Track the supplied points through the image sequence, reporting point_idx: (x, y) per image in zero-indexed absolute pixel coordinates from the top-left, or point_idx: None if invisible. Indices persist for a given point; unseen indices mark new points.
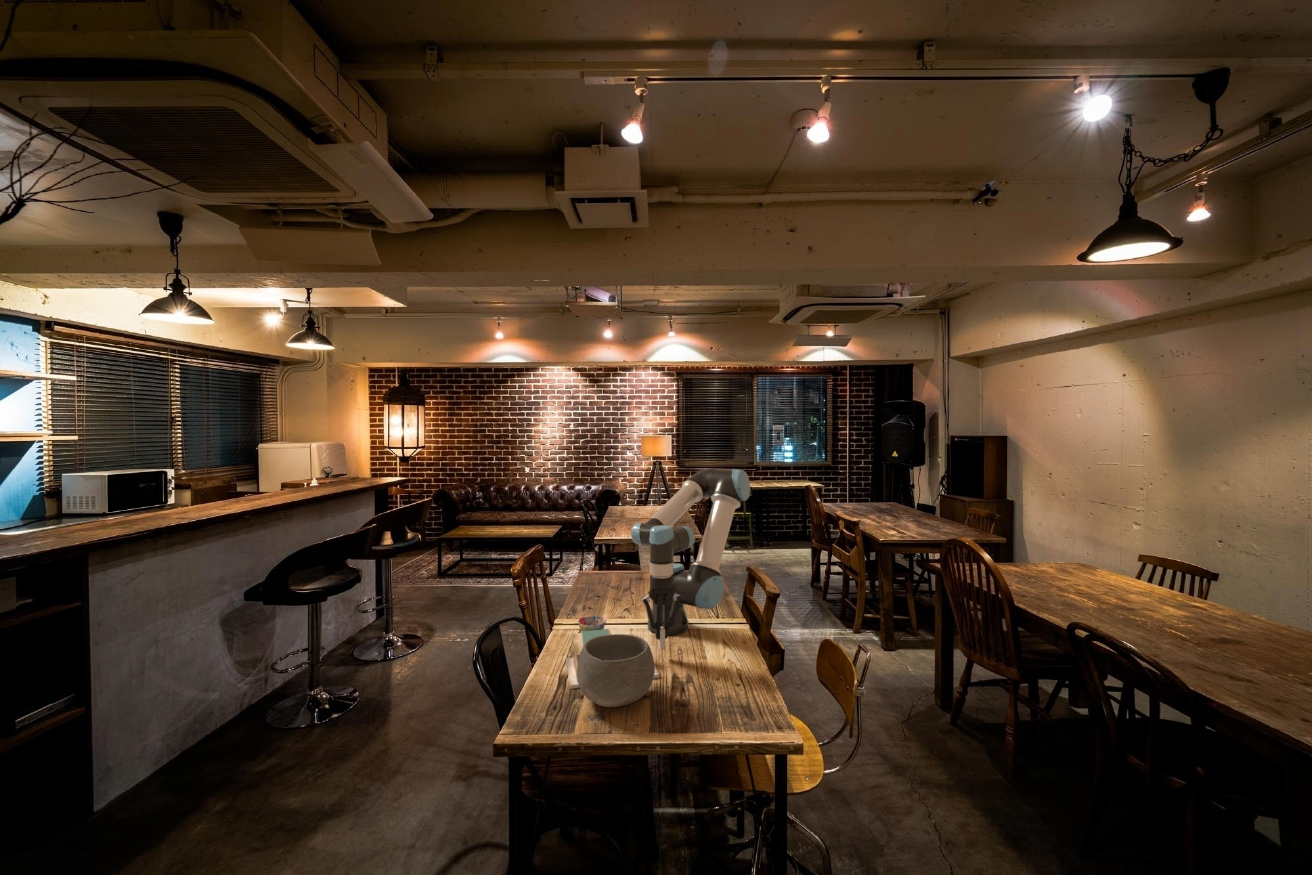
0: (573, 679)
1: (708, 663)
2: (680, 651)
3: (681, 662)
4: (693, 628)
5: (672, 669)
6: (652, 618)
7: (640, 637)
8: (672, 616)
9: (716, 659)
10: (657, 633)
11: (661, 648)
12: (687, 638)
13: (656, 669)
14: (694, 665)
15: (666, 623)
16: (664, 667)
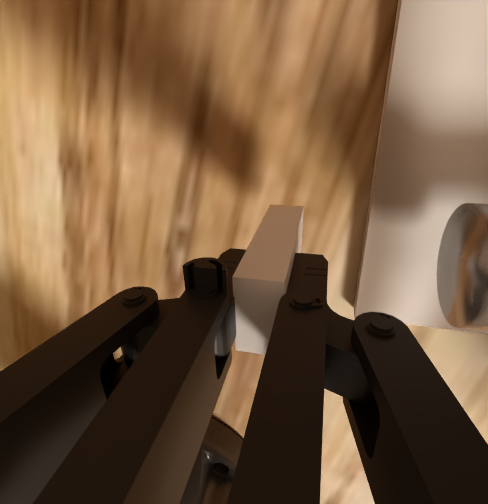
0: None
1: (53, 80)
2: (175, 261)
3: (194, 134)
4: None
5: (270, 46)
6: (414, 428)
7: (481, 310)
8: (60, 368)
9: (13, 120)
10: (315, 281)
11: (294, 209)
12: None
13: (401, 8)
14: (129, 73)
15: (190, 317)
16: (312, 91)
